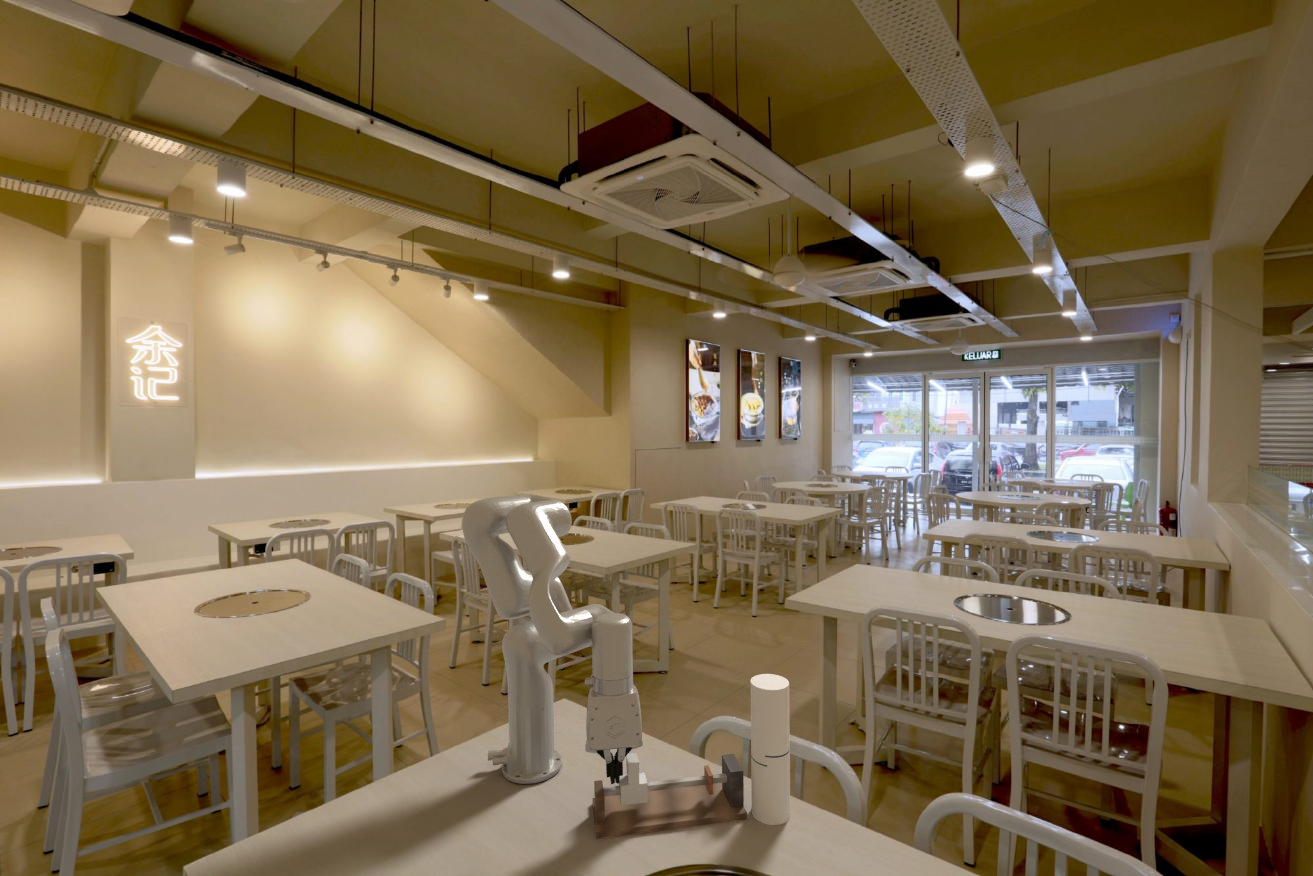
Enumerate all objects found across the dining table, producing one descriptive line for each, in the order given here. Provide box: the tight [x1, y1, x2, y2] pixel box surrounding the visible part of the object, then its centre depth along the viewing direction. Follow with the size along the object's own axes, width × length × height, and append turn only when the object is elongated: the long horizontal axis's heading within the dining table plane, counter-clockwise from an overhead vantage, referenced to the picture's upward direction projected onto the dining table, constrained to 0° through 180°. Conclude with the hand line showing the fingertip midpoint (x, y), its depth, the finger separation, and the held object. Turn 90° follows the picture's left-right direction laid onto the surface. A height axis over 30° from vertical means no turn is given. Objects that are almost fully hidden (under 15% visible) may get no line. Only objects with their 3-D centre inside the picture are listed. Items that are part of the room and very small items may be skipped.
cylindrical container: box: [750, 673, 791, 826], centre depth 114 cm, size 7×7×25 cm
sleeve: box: [618, 752, 648, 806], centre depth 113 cm, size 5×4×8 cm
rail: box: [592, 753, 748, 840], centre depth 115 cm, size 28×10×8 cm, turn 100°
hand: (614, 779), depth 113 cm, fingers closed
